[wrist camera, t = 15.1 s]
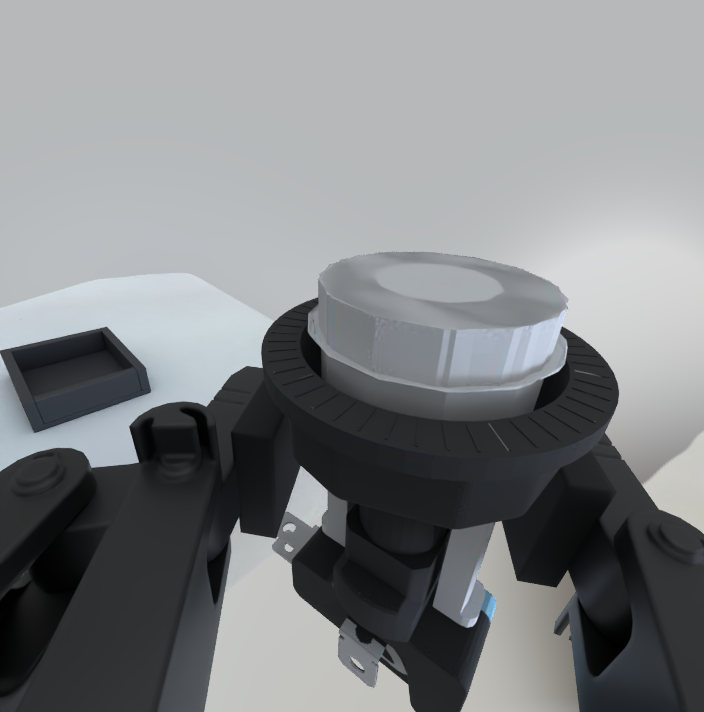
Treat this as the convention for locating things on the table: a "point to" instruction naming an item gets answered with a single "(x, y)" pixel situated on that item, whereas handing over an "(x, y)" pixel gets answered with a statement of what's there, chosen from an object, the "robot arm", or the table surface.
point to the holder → (74, 376)
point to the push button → (425, 447)
